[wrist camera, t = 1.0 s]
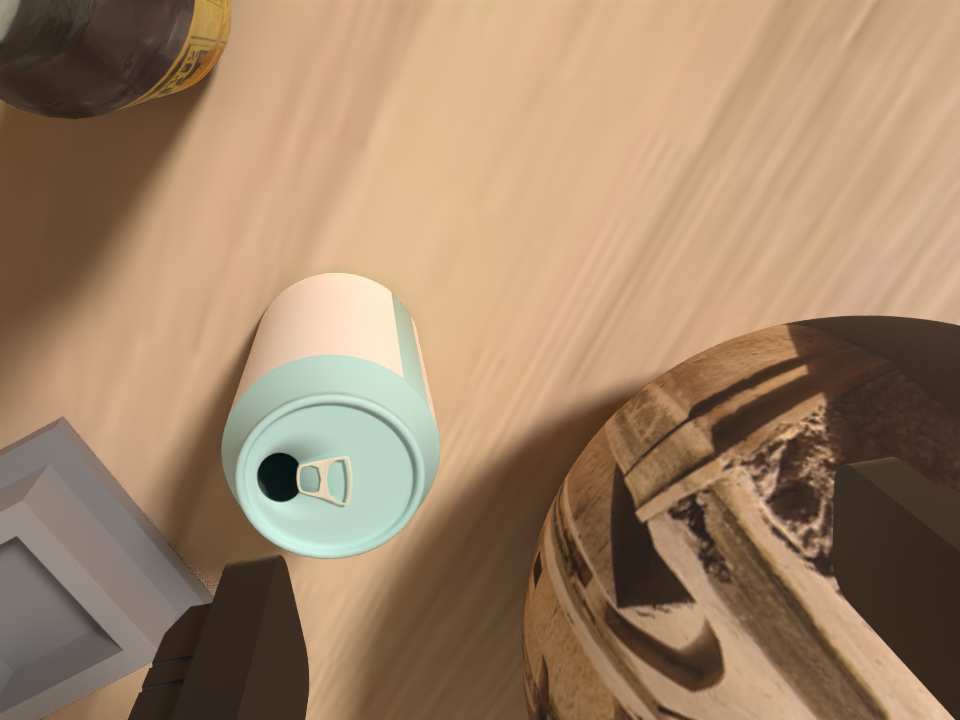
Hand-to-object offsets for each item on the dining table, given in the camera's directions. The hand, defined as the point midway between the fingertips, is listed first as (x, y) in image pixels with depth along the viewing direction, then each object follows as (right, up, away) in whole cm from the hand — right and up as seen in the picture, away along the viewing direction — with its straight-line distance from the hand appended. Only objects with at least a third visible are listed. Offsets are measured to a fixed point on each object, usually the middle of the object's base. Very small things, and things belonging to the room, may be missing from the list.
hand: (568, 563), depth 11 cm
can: (-8, +4, +24) cm, 26 cm away
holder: (-22, -7, +26) cm, 35 cm away
